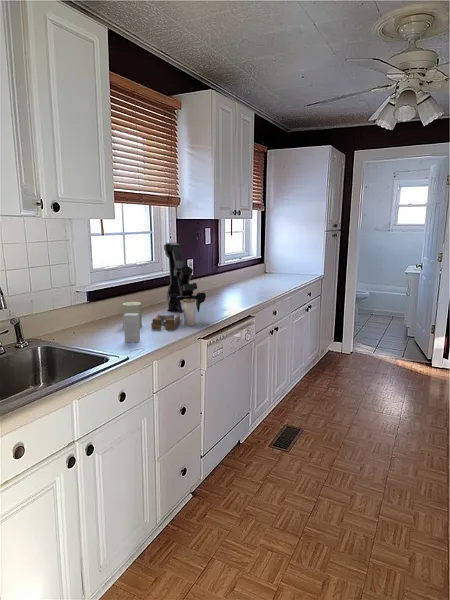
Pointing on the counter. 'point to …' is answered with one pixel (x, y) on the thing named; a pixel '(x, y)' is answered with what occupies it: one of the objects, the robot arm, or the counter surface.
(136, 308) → the can
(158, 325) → the brown boxy piece
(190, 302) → the jar
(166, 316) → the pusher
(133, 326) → the skincare box
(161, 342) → the counter surface
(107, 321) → the counter surface
